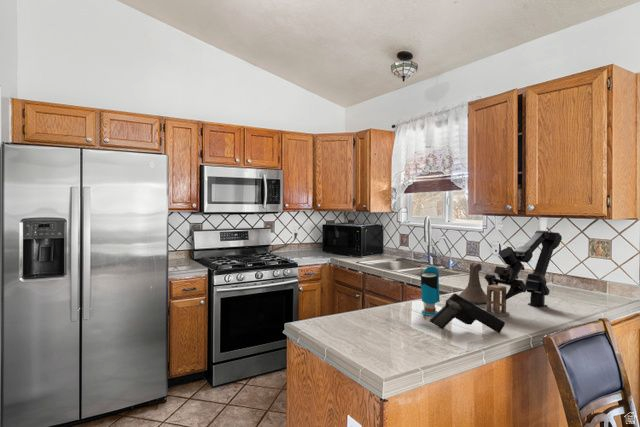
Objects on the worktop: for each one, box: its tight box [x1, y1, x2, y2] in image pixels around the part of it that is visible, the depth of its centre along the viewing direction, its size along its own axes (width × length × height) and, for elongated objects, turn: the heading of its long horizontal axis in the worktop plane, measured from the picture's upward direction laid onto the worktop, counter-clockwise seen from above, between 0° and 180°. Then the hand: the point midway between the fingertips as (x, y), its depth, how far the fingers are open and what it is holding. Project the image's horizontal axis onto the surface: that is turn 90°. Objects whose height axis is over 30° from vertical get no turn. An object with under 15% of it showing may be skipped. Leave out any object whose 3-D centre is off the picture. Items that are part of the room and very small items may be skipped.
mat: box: [484, 308, 511, 318], centre depth 172 cm, size 11×11×1 cm
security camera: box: [420, 266, 441, 316], centre depth 171 cm, size 8×21×10 cm
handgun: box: [429, 292, 506, 334], centre depth 149 cm, size 2×24×15 cm, turn 78°
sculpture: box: [458, 261, 487, 305], centre depth 196 cm, size 17×17×20 cm
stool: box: [486, 284, 507, 315], centre depth 172 cm, size 6×6×12 cm
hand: (496, 296), depth 172 cm, fingers open, 9 cm apart
